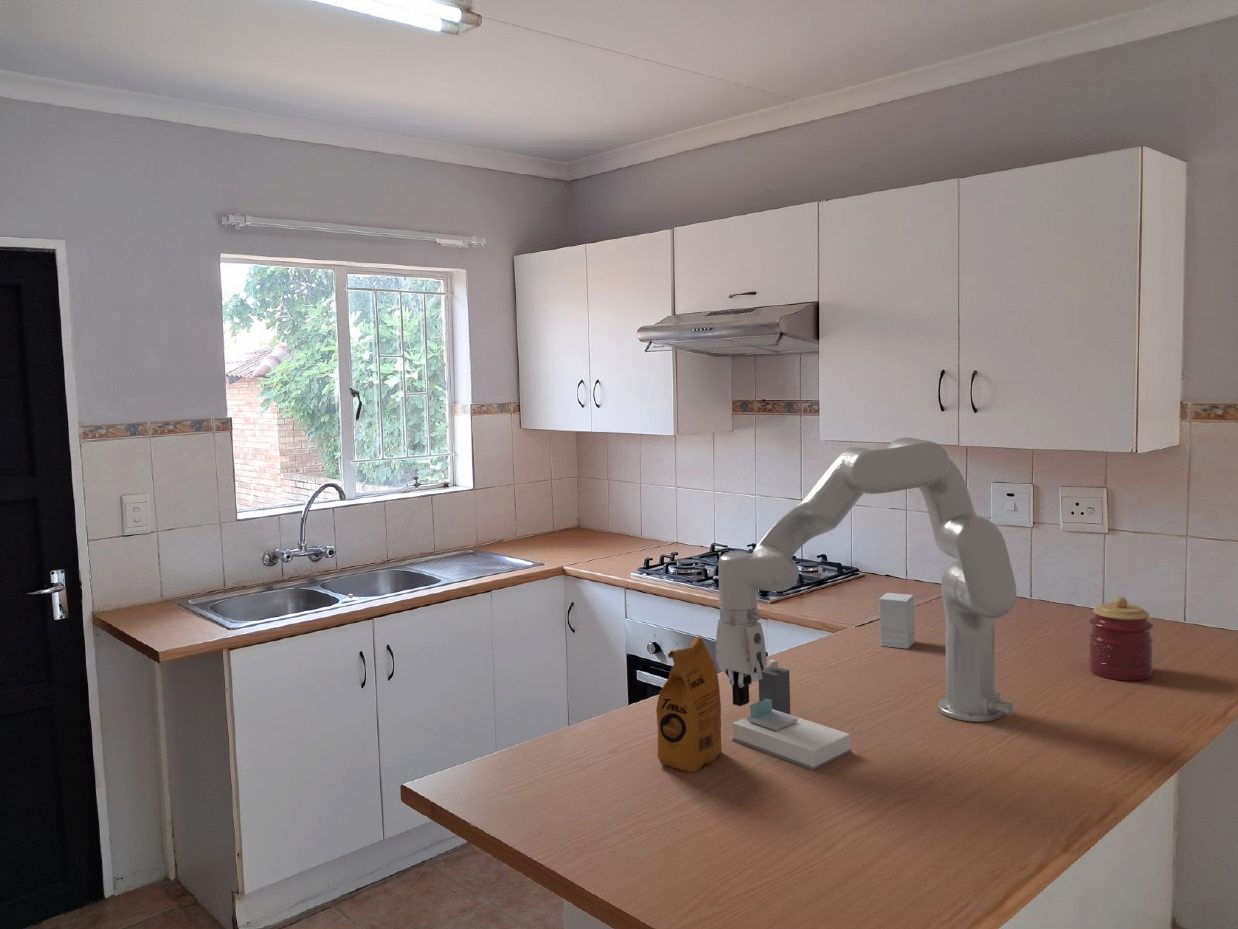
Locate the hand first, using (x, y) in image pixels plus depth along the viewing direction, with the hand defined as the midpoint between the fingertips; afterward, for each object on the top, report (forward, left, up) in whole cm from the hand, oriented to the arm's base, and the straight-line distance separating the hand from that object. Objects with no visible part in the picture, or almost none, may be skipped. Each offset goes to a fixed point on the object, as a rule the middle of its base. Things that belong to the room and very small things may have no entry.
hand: (741, 703), depth 185 cm
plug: (-1, -9, -5) cm, 11 cm away
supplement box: (+9, -70, -6) cm, 71 cm away
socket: (-12, 0, -5) cm, 13 cm away
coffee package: (-3, +18, -6) cm, 19 cm away
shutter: (-8, 0, -1) cm, 8 cm away
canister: (-40, -84, -6) cm, 93 cm away
